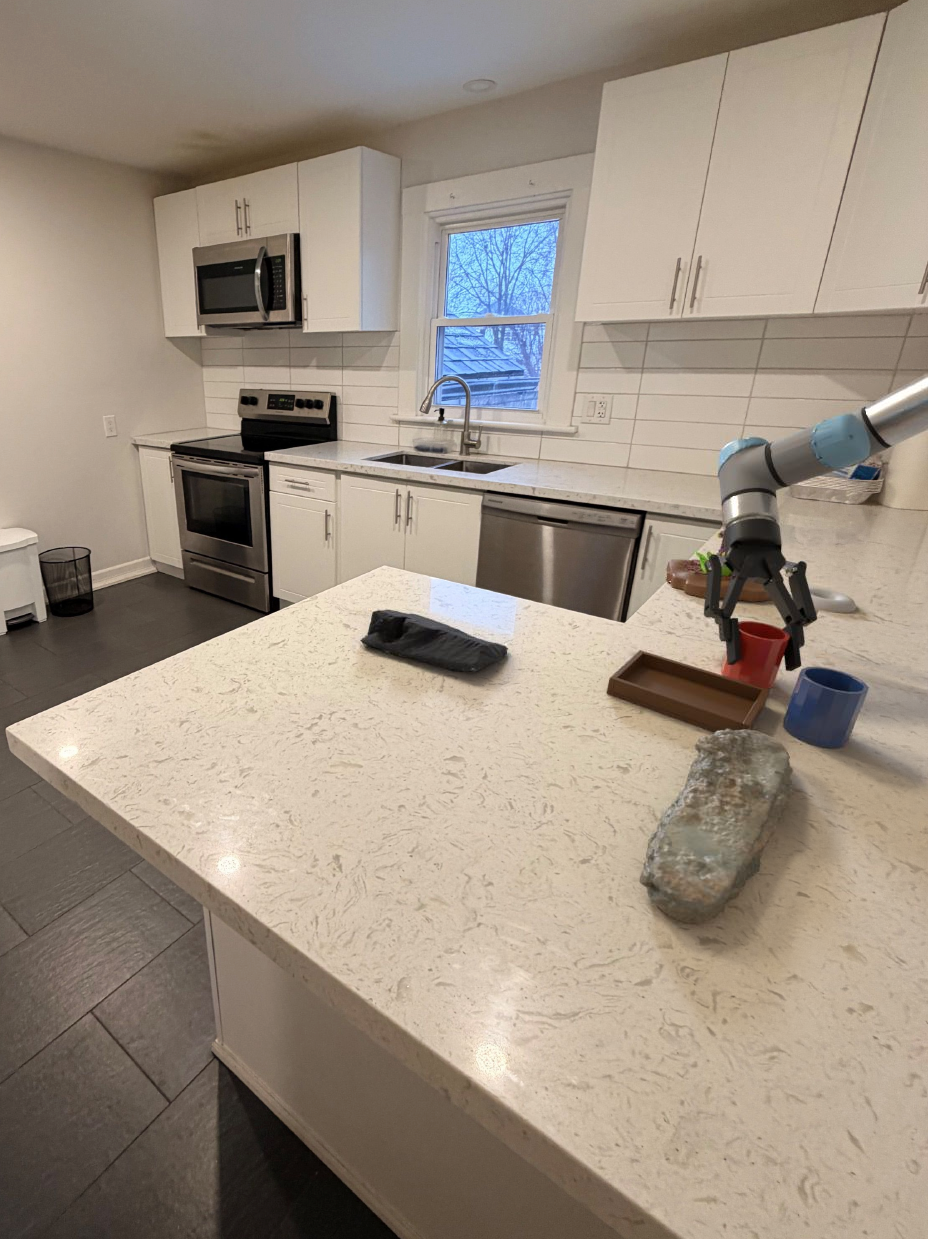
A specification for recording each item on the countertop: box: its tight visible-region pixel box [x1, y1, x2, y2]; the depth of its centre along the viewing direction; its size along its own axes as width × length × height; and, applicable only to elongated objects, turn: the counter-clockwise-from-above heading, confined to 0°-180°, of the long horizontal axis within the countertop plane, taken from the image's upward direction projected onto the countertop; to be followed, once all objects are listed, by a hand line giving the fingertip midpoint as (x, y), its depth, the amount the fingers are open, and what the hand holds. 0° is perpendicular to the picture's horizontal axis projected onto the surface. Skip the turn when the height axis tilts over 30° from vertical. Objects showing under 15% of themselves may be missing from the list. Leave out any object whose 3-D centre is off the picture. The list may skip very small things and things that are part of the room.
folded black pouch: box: [359, 609, 509, 672], centre depth 104 cm, size 15×22×5 cm
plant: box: [665, 530, 772, 603], centre depth 134 cm, size 20×20×11 cm
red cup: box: [720, 620, 790, 690], centre depth 96 cm, size 7×7×8 cm
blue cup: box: [782, 666, 870, 749], centre depth 83 cm, size 7×7×8 cm
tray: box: [605, 649, 771, 733], centre depth 91 cm, size 18×13×3 cm
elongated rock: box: [639, 728, 794, 925], centre depth 67 cm, size 35×5×10 cm
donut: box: [792, 586, 857, 616], centre depth 123 cm, size 10×4×10 cm
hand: (763, 664), depth 93 cm, fingers closed on red cup, 7 cm apart
